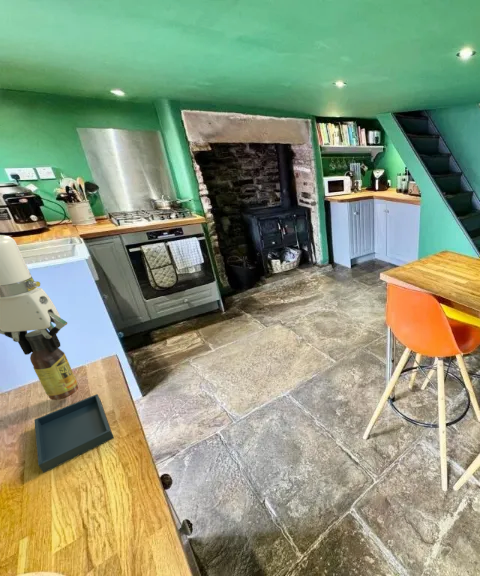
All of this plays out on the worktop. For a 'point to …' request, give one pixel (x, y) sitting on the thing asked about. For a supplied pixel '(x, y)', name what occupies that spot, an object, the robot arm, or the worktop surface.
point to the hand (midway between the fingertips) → (43, 349)
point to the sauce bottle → (51, 368)
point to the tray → (70, 432)
